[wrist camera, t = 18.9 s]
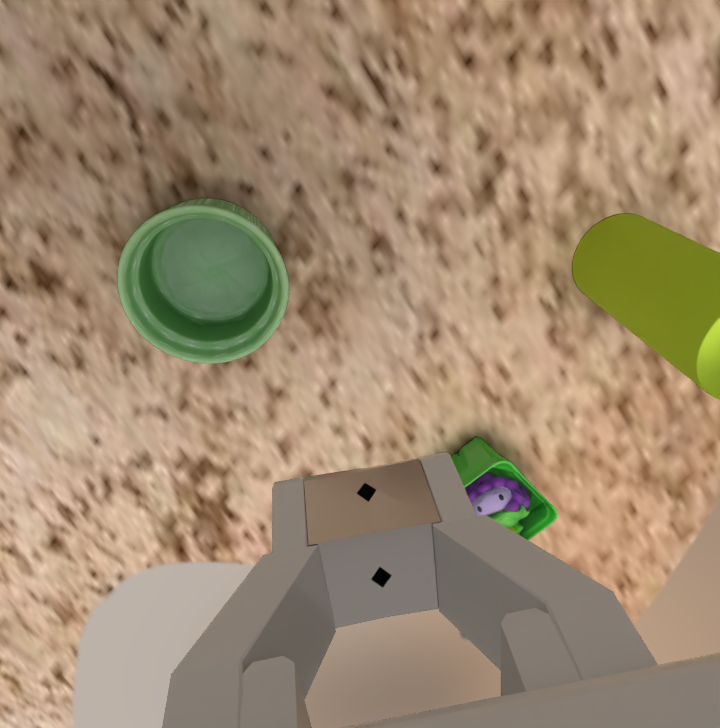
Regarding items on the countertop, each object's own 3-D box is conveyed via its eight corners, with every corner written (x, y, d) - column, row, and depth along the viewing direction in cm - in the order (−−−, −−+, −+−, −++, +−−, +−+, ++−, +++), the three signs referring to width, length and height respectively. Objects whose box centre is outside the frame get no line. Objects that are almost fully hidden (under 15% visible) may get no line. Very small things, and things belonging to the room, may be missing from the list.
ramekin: (267, 172, 34) (266, 189, 30) (302, 315, 38) (305, 346, 34) (110, 205, 33) (88, 225, 30) (163, 345, 38) (150, 379, 34)
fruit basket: (481, 414, 43) (542, 523, 33) (543, 480, 47) (615, 596, 37) (363, 502, 46) (387, 628, 36) (431, 559, 50) (470, 686, 40)
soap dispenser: (542, 268, 38) (766, 454, 21) (632, 193, 37) (957, 327, 19) (587, 326, 41) (821, 537, 23) (673, 259, 39) (994, 431, 22)
